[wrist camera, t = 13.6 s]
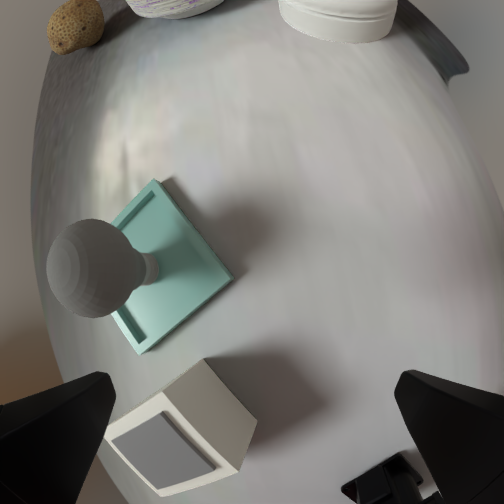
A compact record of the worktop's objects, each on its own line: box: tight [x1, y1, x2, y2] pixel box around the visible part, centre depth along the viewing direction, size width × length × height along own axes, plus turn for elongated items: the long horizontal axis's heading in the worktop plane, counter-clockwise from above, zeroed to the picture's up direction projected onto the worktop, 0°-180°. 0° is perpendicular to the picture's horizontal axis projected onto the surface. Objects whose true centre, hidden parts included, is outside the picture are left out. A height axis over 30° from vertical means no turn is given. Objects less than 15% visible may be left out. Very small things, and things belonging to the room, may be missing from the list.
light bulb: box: [47, 219, 159, 318], centre depth 17 cm, size 6×6×10 cm
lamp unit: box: [104, 359, 258, 497], centre depth 17 cm, size 7×8×7 cm
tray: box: [111, 179, 234, 355], centre depth 22 cm, size 10×10×1 cm
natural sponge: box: [47, 0, 104, 55], centre depth 22 cm, size 9×9×10 cm
